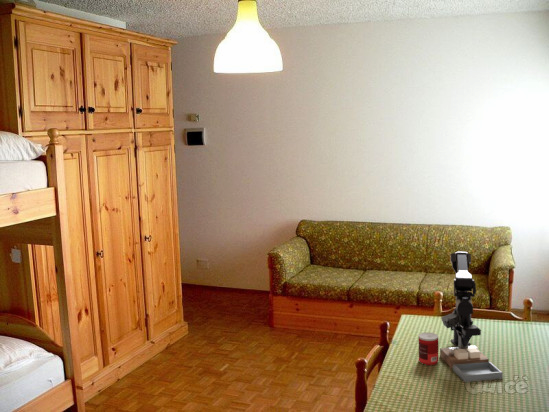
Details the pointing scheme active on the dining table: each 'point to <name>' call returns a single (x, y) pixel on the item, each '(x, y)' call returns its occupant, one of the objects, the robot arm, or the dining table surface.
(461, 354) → the tile
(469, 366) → the box
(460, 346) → the scraper
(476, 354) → the tile
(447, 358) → the plate
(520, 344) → the dining table surface
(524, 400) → the dining table surface
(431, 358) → the canned food
